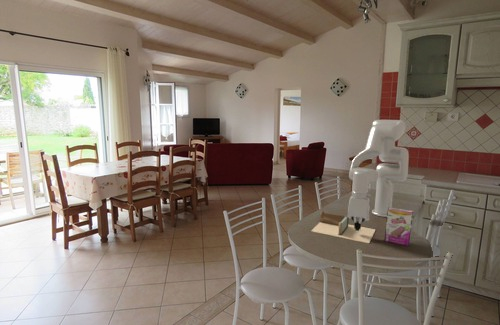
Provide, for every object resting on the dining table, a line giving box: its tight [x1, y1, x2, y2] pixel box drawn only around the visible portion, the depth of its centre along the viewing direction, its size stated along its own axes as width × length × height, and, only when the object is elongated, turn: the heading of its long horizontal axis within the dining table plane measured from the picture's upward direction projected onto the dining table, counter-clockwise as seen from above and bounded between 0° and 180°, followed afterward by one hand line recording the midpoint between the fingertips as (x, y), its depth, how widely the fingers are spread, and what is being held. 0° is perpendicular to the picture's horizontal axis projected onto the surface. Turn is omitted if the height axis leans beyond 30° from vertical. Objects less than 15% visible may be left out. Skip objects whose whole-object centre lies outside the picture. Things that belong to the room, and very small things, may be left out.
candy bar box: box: [384, 207, 414, 247], centre depth 148 cm, size 11×5×16 cm, turn 59°
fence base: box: [319, 210, 350, 227], centre depth 171 cm, size 2×16×7 cm, turn 60°
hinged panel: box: [338, 217, 347, 234], centre depth 162 cm, size 2×12×6 cm, turn 149°
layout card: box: [310, 221, 376, 244], centre depth 163 cm, size 20×29×1 cm
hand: (357, 229), depth 157 cm, fingers closed
